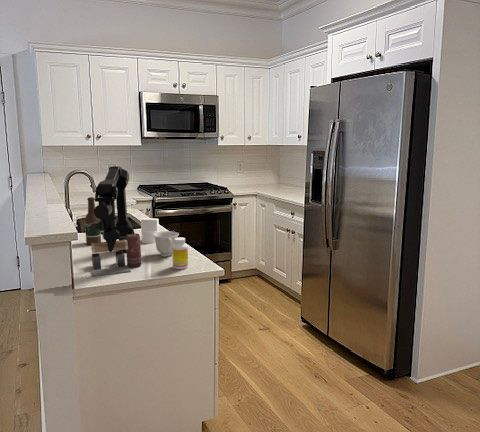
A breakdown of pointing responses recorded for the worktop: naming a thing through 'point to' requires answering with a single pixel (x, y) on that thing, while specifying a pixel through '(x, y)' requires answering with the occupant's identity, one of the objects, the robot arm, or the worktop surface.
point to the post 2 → (120, 258)
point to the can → (133, 250)
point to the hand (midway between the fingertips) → (110, 250)
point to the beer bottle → (89, 219)
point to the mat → (110, 271)
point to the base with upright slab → (149, 229)
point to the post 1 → (96, 261)
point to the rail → (104, 247)
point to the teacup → (165, 242)
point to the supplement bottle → (180, 253)
